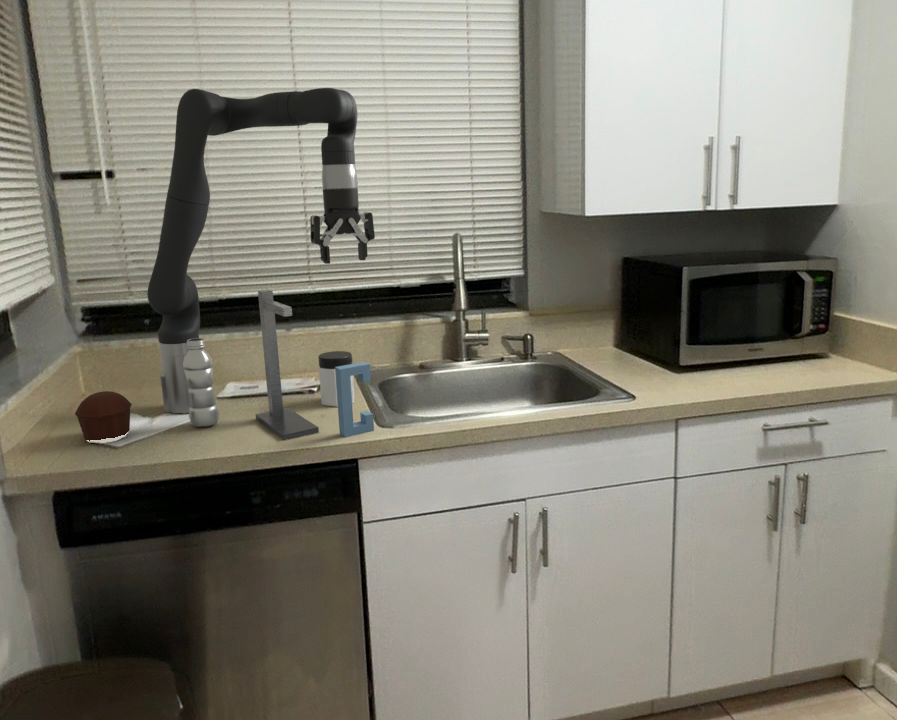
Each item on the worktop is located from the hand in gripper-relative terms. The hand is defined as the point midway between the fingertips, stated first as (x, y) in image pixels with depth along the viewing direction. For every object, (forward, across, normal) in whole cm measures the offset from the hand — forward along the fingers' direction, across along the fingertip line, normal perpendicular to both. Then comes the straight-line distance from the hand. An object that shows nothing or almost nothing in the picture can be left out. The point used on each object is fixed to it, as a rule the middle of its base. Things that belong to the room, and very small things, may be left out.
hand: (344, 261), depth 167 cm
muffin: (+36, +50, -21) cm, 65 cm away
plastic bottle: (+36, +30, -15) cm, 50 cm away
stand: (+36, +15, -3) cm, 39 cm away
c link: (+36, +4, +11) cm, 38 cm away
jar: (+36, -2, -13) cm, 38 cm away
